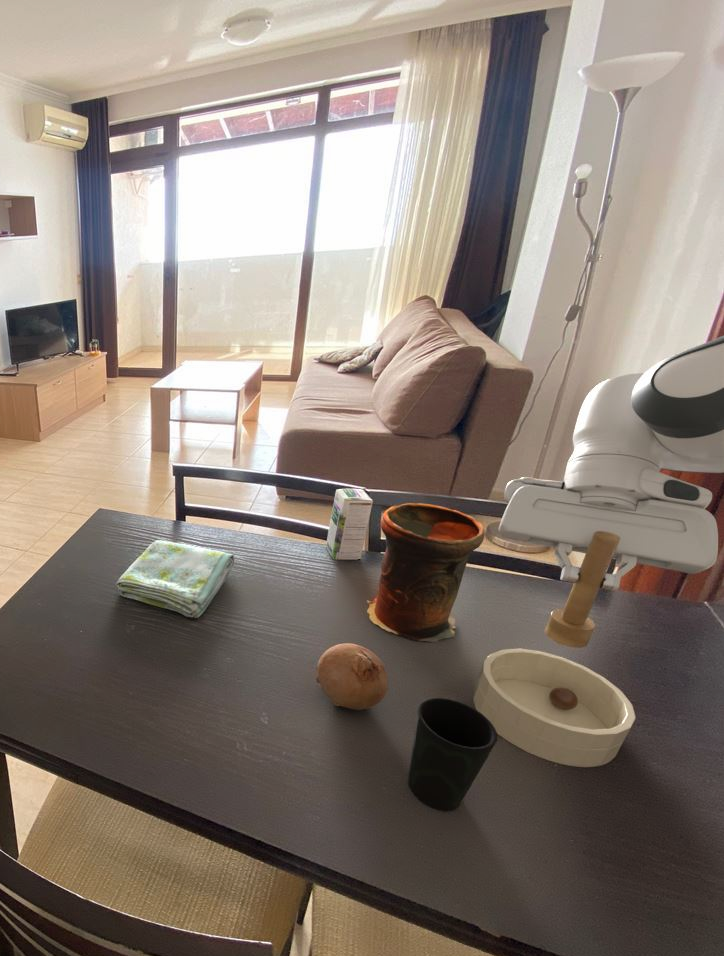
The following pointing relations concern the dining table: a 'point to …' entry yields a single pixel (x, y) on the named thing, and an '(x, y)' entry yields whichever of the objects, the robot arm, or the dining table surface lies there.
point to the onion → (352, 676)
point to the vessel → (423, 569)
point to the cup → (448, 751)
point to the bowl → (552, 707)
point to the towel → (176, 577)
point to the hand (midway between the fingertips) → (588, 584)
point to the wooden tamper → (583, 594)
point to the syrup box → (348, 524)
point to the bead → (563, 698)
